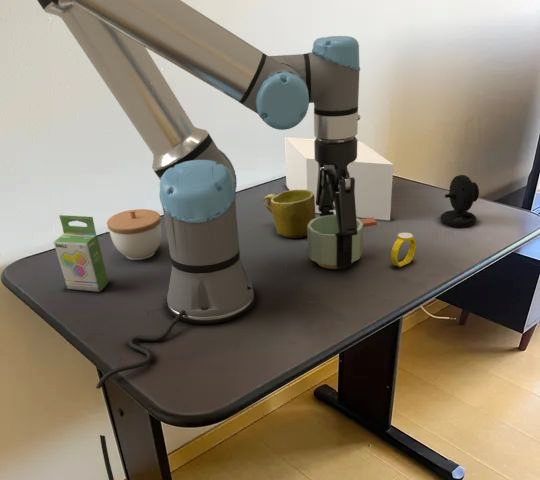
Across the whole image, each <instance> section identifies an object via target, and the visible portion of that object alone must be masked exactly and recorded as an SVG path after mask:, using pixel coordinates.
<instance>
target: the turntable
mask: <svg viewBox="0 0 540 480" xmlns="http://www.w3.org/2000/svg"><path fill="white" fill-rule="evenodd" d="M316 264H317V265H318V266H320V267H322V268H324V269H329V270H330V269H331V270H336V269H337V270H339V269H340V268H337V265H325V264H320V263H318V262H316ZM352 264H354V262H352ZM345 268H346V267H342V268H341V269H345Z"/></svg>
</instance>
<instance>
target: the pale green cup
mask: <svg viewBox="0 0 540 480" xmlns="http://www.w3.org/2000/svg"><path fill="white" fill-rule="evenodd" d="M356 221H357V235H352V262H353V263H354V262H356V261H358V260H359V259H360V258H361V257H362V254H363V242H364V241H363V240H364V228H367V227H373V226H377V225H378V221H377V219H374V218H373V217H372V218H359V217H356ZM307 232H308V235H307V255H308V257H309V258H310V260H311V261H313V262H315V263H317V262H318V263H320V264H325V265H337V237H336V236H335V234H336V233H339V230H338V224H337V217H336V214H333V215H326V216H320V215H319V216H318V217H315V219H313V220H311V221H310V222H309V224H308V225H307ZM318 263H317V264H318Z"/></svg>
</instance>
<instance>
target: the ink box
mask: <svg viewBox="0 0 540 480" xmlns="http://www.w3.org/2000/svg"><path fill="white" fill-rule="evenodd" d="M59 220H60V223H61V226H62V232H63V233H62V234H61V235H60V236H59V237H57V239H55V240H54V241H53V245H54V248H55V249H54V250H55V252H56V255H57V258H58V261H59V265H60V269H61V271H62V275H63V278H64V281H65V285H66V289H67V290H74V291H75V290H76V291H85V292H86V291H87V292H98V293H99V292H101V291H102V290H103V289H104V288H105V287H106V286H107V285H108V284H109V279H108V275H107V271H106V267H105V262H104V258H103V253H102V249H101V246H100V242H99V238H98V235H97V231H96V227H95V226H96V225H95V222H94V217H93V216H84V215H68V214H67V215H63V214H59ZM77 221H78V222H81V223H83V224H86V226H80V225H70V224H69V223H71V222H77Z"/></svg>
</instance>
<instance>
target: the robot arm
mask: <svg viewBox="0 0 540 480" xmlns="http://www.w3.org/2000/svg"><path fill="white" fill-rule="evenodd" d="M36 1H37V2H38V4H39V6H41V8H42V10H43V11H44V12H45V13H47V14H50V15H53V16H56V17H59V18H60V19H61V20H62V21H63V23H64V24H65V26H66V27H67V29H68V30H69V32H70V33H71V34H72V35H71V36H73V37H74V39H75V40H76V42H77V44H78V45H79V46H80V48H81V49H82V51H83V52H84V54H85V56H86V57H87V59H88V60H89V61H90V63H91V64H92V66H93V67H94V69H95V70H96V72H97V73H98V75H99V76H100V78H101V80H102V81H103V82H104V83H105V85H106V87H107V88H108V90H109V91H110V93H111V94H112V95H113V97H114V98H115V101H116V102H117V103H118V104H119V106H120V108H121V109H122V111H123V112H124V114H125V115H126V116H127V118H128V119H129V121H130V122H131V124H132V125H133V127H134V129H135V130H136V131H137V133H138V134H139V136H140V137H141V138H142V140H143V142H144V143H145V144H146V146H147V147H148V149H149V151H150V152H151V153H152V156H153V158H152V164H151V168H152V170H153V172H154V173H155V175H156V177H158V179H159V201H160V204H161V207H162V213H163V218H164V224H165V231H166V237H167V243H168V250H169V255H170V262H171V271H170V277H169V285H168V291H167V294H166V302H167V308H168V312H169V313H170V315H171V316H172V317H174V319H173V320H171V322H170V323H169V324H168V325H167V327H166V329H165V331H164V332H162V334H160V335H158V336H148V335H147V336H146V335H135V336H133V337H131V338H130V339H129V340H128V346H129V347H130V348H131V349H133V350H135V351H138V352H140V353H142V354H144V355H145V356H146V357H145V358H144V359H143V360H141V361H139V362H135V363H131V364H126V365H122V366H119V367H115V368H113V369H111V370H109V371H108V372H106V373H105V374H104V375H103V376H102V377H101V378H100V379H99V381H98V382H97V384H96V386H95V389H96V390H97V389H101V388H102V387H103V385H105V382H106V381H107V380H108V379H109V378H110V377H112V376H114V375H115V374H118V373H121V372H125V371H130V370H134V369H138V368H141V367H142V368H143V367H144V366H146V365H147V364H149V363H150V362H151V361H152V358H153V354H152V353H151V351H150V350H149V349H146V348H145V347H142V346H139V345H137V344H135V342H136V341H145V342H158V341H162V340H163V339H165V338H167V337H168V336H169V335H170V333H171V331H172V330H173V328H174V327H175V326H176V324H177V323H179V321H182V322H184V323H188V324H193V325H212V324H218V323H220V324H221V323H224V322H228V321H231V320H234V319H237V318H239V317H240V316H243V315H244V314H245V313H247V312H248V311H249V310H250V309H251V308H252V307H253V305H254V302H255V292H254V287H253V285H252V282H251V280H250V278H249V276H248V274H247V271H246V269H245V267H244V264H243V262H242V260H241V253H240V252H241V251H240V241H239V231H238V219H237V175H236V170H235V168H234V164H233V163H232V161H231V160H230V158H229V157H228V156H227V154H226V153H224V152H223V151H222V150H221V149H220V148H218V147H217V145H216V143H215V141H214V139H213V138H212V137H211V135H210V133H209V131H207V129H204V128H199V127H196V126H194V124H193V122H192V120H191V119H190V117H189V116H188V113H186V110H185V109H184V108H183V105H181V103H180V101H179V100H178V97H177V96H176V94H175V93H174V91H173V90H172V88H171V87H170V84H169V83H168V82H167V79H166V78H165V77H164V75H163V74H162V72H161V70H160V68H159V67H158V65H157V64H156V62H155V61H154V59H153V57H152V56H151V54H150V53H149V51H151V52H152V53H154V54H156V55H158V56H159V57H161V58H163V59H164V60H166V61H168V62H170V63H171V64H174V65H175V66H177V67H178V68H180V69H181V70H183V71H185V72H187V73H189V74H190V75H192V76H194V77H195V78H197V79H199V80H201V81H202V82H203V83H206V84H207V85H209V86H211V87H212V88H214V89H216V90H217V91H219V92H221V93H223V94H224V95H226V96H227V97H230V98H231V99H233V100H235V101H237V102H238V103H239V104H241V105H243V106H244V107H245V108H247V109H249V110H250V111H252V112H254V113H255V114H257V115H258V116H259V118H260V119H261V120H262V121H263V122H264V123H265V124H266V125H267V126H269V127H270V128H272V129H275V130H278V131H280V130H281V131H285V130H290V129H293V128H295V127H296V126H298V125H299V124H300V123H302V121H303V120H304V118H306V116H307V113H308V110H309V106H310V104H313V136H314V137H315V139H316V140H315V141H314V152H315V160H316V161H317V162H318V182H317V194H316V205H317V206H318V205H319V207H318V210H319V212H321V213H319V217H320V216H326V215H333V214H334V212H333V211H332V212H330V210H335V211H336V217H337V224H338V230H339V233H336V234H335V236H336V237H337V268H339V269H343V268H342V267H345V268H348V267H352V266H353V263H352V235H357V221H356V218H357V217H356V207H355V193H354V189H355V179H354V177H352V178H350V176H349V172H348V169H347V165H348V164H349V163H351V162H354V161H355V160H356V158H357V141H358V138H357V137H356V136H357V135H358V129H359V128H358V127H359V123H358V121H360V120H361V115H360V114H359V96H360V95H359V92H360V91H359V90H360V71H361V67H360V44H359V42H358V40H357V39H356V38H355V37H353V36H349V35H330V36H325V37H318V38H316V39H315V40H314V41H313V44H312V49H311V51H310V52H307V53H299V54H281V55H280V54H279V55H268V54H266V53H264V52H263V51H261V50H260V49H259V48H257V47H255V46H253V45H252V44H251V43H249V42H247V41H245V40H244V39H243V38H241V37H239V36H238V35H237V34H235V33H233V32H231V31H230V30H228V29H227V28H226V27H224V26H222V25H220V24H219V23H217V22H215V21H214V20H212V19H211V18H209V17H208V16H206V15H205V14H203V13H202V12H200V11H198V10H197V9H195V8H193V7H192V6H191V5H189V4H187V3H185V2H184V1H182V0H36ZM148 50H149V51H148ZM337 192H339V193H337ZM333 203H334V204H335V206H334V204H333ZM334 208H335V209H334ZM99 439H100V440H99V441H100V446H101V451H102V456H103V460H104V464H105V470H106V474H107V478H108V480H115V477H114V474H113V471H112V465H111V463H110V456H109V452H108V447H107V439H106V436H105V435H102V434H99Z"/></svg>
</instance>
